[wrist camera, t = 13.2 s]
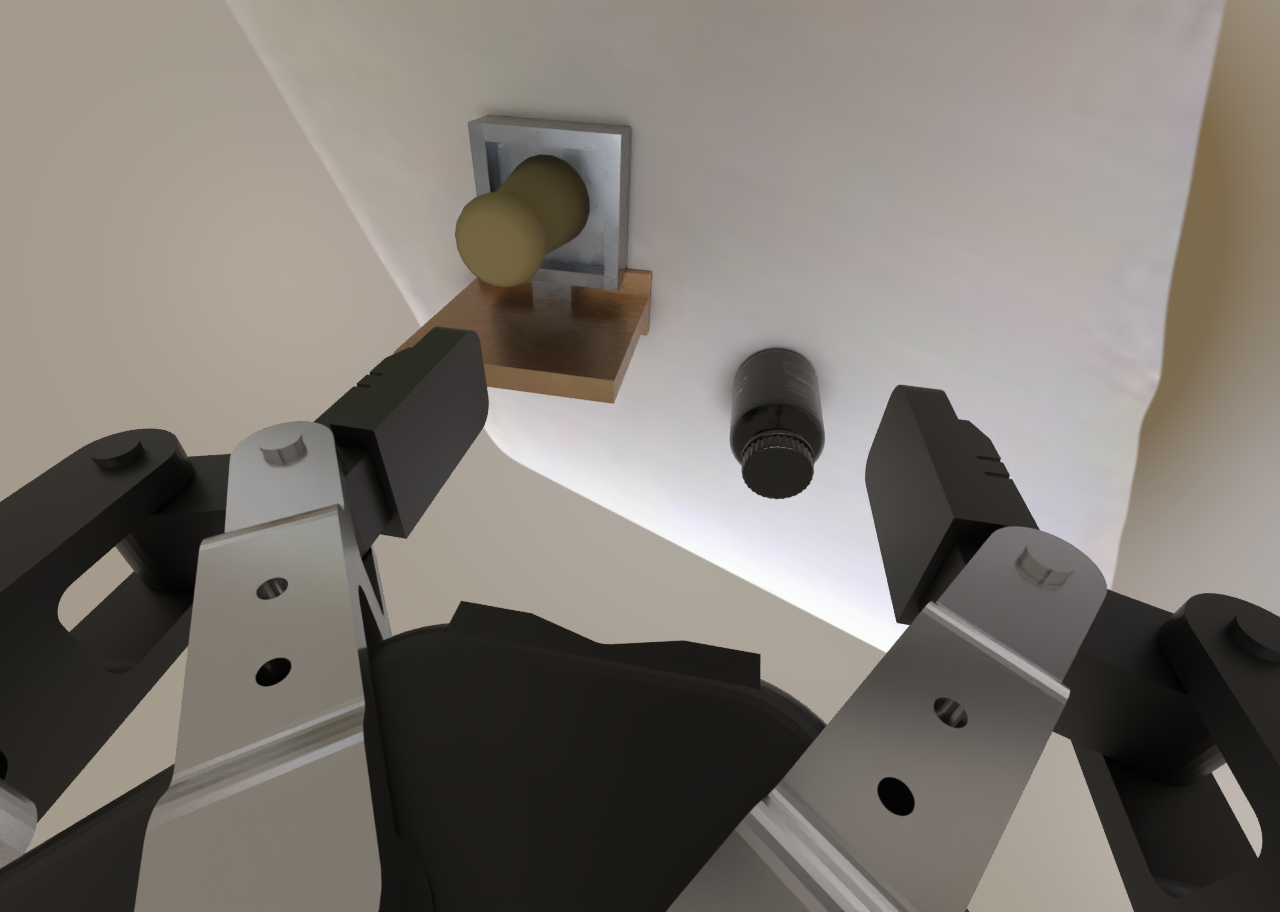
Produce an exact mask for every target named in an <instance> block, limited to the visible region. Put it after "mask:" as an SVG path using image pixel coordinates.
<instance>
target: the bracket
mask: <svg viewBox="0 0 1280 912" xmlns="http://www.w3.org/2000/svg"><path fill="white" fill-rule="evenodd" d="M468 127H469V135H470V143H471V152H472V160H473V168H474V176H475V184H476V192H477V196H479V195H483V194H486V193H490V192H497V191H498V189H499V188H500V187H501V186H502V184H503V183H504V182H505V181H506V179H507V178H508V177H509V176H510V174H511V173H512V172H513V171H514V169H515V168H516V167H517V166H518V165H519V164H520V163H522V162H523V161H524V160H525V159H527V158H529V157H532V156H536V155H539V154H541V155H553V156H555V157H557V158H560V159H562V160H564V161H566V162H567V163H568V164H570V165H571V166H572V167H573V168H574V169H575V170H576V171H577V172H578V173H579V175H580V177H581V178H582V180H583V181H584V183H585V185H586V188H587V192H588V195H589V202H590V213H589V216H588V220H587V223H586V226H585V227H584V229H583V230H582V231H581V233H580V234H579V235H578V236H577V237H576V238H574V239H573V240H571V241H570V242H568V243H566V244H565V245H563V246H561V247H559V248H557V249H555V250H554V251H552V252H550V253H548V254H546V255H545V257H544V261H543V264H542V265H541V267H540V268H539V270H538V271H537V272H536V274H535V275H534V276H533V277H532V278H530V279H529V280H527V281H526V282H524V283H523V284H519V285H515V286H511V287H500V286H494V285H492V284H489V283H487V282H484V281H482V280H481V279H480V278H478V277H477V278H476V279H475V280H474V281H473V282H472V283H471V284H470V285H468V286H467V287H466V288H465V289H464V290H463V291H462V292H461V293H459V294H458V295H457V296H456V297H455V298H454V299H453V300H452V301H450V302H449V303H448V304H447V305H446V306H445V307H444V308H443V309H441V310H440V311H439V312H438V313H437V314H436V315H435V316H434V317H433V318H431V319H430V320H429V321H428V322H427V323H426V324H425V325H424V326H422V327H421V328H420V329H419V330H418V331H417V332H416V333H415V334H414V335H412V336H411V337H410V338H409V339H408V340H407V341H406V342H405V343H403V344H402V345H401V346H400V347H399V348H398V349H397V350H396V351H395V352H394V354H395V353H397V352H400V351H402V350H404V349H406V348H408V347H413V346H414V345H415V344H416V343H417V342H419V341H420V340H421V339H422V338H423V337H424V336H425V335H426V334H427V333H428V332H429V331H430V330H432V329H433V328H434V327H436V326H441V327H449V328H457V329H465V330H473V331H475V332H476V333H477V334H478V336H479V339H480V342H481V349H482V356H483V363H484V370H485V377H486V384H487V387H495V388H502V389H510V390H517V391H524V392H532V393H539V394H547V395H554V396H561V397H569V398H576V399H584V400H591V401H598V402H606V403H613V404H614V401H615V399H616V396H617V394H618V391H619V389H620V386H621V384H622V381H623V378H624V376H625V373H626V371H627V368H628V366H629V363H630V361H631V358H632V356H633V353H634V350H635V348H636V345H637V343H638V340H639V338H640V335H646V336H647V334H648V330H649V314H650V297H651V281H652V272H651V271H642V270H633V269H627V243H628V212H629V182H630V152H631V127H628V126H616V125H604V124H592V123H580V122H567V121H555V120H543V119H531V118H518V117H506V116H494V115H487V116H484V117H481V118H478V119H476V120H473V121H470V122H468Z"/></svg>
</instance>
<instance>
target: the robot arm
mask: <svg viewBox="0 0 1280 912" xmlns="http://www.w3.org/2000/svg"><path fill="white" fill-rule="evenodd" d="M488 407H489V400H488V392H487V384H486V377H485V370H484V363H483V356H482V349H481V342H480V339H479V336H478V334H477V333H476V332H475V331H473V330H465V329H457V328H449V327H441V326H436V327H434V328H433V329H432V330H430V331H429V332H428V333H427V334H426V335H425V336H424V337H423V338H422V339H421V340H420V341H419V342H417V343H416V344H415V345H414V346H413V347H408V348H406V349H404V350H402V351H400V352H397V353H395V354H393V355H391V356H389V357H387V358H385V359H384V360H383V361H382V362H381V363H380V364H378V365H377V366H376V367H375V368H374V369H373V370H372V371H371V372H370V375H366V376H365V377H364V378H363V379H361V380H360V381H359V382H358V383H357V387H352V388H351V389H350V390H349V391H348V392H347V393H346V394H344V395H343V396H342V397H341V398H340V399H339V400H338V401H337V402H335V403H334V404H333V405H332V406H331V407H330V408H329V409H328V410H326V411H325V412H324V413H323V414H322V415H321V416H320V417H319V418H318V419H316V420H315V421H314V422H307V421H296V422H287V423H281V424H277V425H273V426H270V427H267V428H264V429H262V430H259V431H257V432H255V433H253V434H251V435H250V436H248V437H247V438H245V439H244V440H242V441H241V442H240V443H239V444H238V445H237V446H236V447H235V448H234V450H233V451H232V453H231V454H225V455H224V454H223V455H208V456H192V457H187V455H186V453H185V451H184V449H183V448H182V446H181V444H180V442H179V441H178V439H177V437H176V436H175V435H174V434H172V433H171V432H168V431H166V430H161V429H137V430H130V431H125V432H121V433H117V434H113V435H110V436H107V437H104V438H102V439H99V440H96V441H94V442H92V443H90V444H88V445H86V446H84V447H82V448H81V449H79V450H77V451H76V452H74V453H73V454H71V455H70V456H68V457H67V458H65V459H64V460H62V461H61V462H59V463H58V464H56V465H55V466H53V467H52V468H50V469H49V470H47V471H46V472H44V473H43V474H41V475H40V476H38V477H37V478H36V479H34V480H33V481H31V482H29V483H28V484H26V485H25V486H23V487H22V488H20V489H19V490H18V491H16V492H14V493H13V494H12V495H10V496H9V497H7V498H6V499H4V500H3V501H1V502H0V912H969V911H968V909H967V906H968V904H969V902H970V900H971V898H972V896H973V894H974V892H975V890H976V888H977V886H978V883H979V882H980V880H981V878H982V876H983V873H984V871H985V869H986V867H987V865H988V863H989V861H990V859H991V857H992V855H993V853H994V851H995V849H996V847H997V845H998V842H999V840H1000V838H1001V836H1002V834H1003V832H1004V830H1005V828H1006V826H1007V824H1008V822H1009V820H1010V817H1011V816H1012V814H1013V812H1014V809H1015V807H1016V805H1017V803H1018V801H1019V799H1020V797H1021V795H1022V793H1023V791H1024V789H1025V787H1026V785H1027V783H1028V781H1029V779H1030V776H1031V774H1032V772H1033V770H1034V768H1035V766H1036V764H1037V762H1038V760H1039V758H1040V756H1041V754H1042V752H1043V750H1044V748H1045V745H1046V743H1047V741H1048V739H1049V737H1050V735H1051V733H1052V731H1053V732H1055V733H1057V734H1060V735H1062V736H1064V737H1066V738H1068V739H1071V742H1072V744H1073V747H1074V750H1075V753H1076V755H1077V758H1078V761H1079V763H1080V766H1081V769H1082V772H1083V775H1084V777H1085V780H1086V783H1087V785H1088V788H1089V791H1090V793H1091V796H1092V799H1093V802H1094V804H1095V807H1096V810H1097V812H1098V815H1099V818H1100V821H1101V823H1102V826H1103V829H1104V832H1105V834H1106V837H1107V840H1108V842H1109V845H1110V848H1111V851H1112V853H1113V856H1114V859H1115V861H1116V864H1117V867H1118V869H1119V872H1120V875H1121V878H1122V880H1123V883H1124V886H1125V889H1126V891H1127V894H1128V897H1129V899H1130V902H1131V905H1132V908H1133V910H1134V912H1280V617H1278V616H1277V615H1275V614H1273V613H1271V612H1269V611H1267V610H1265V609H1263V608H1261V607H1259V606H1256V605H1254V604H1252V603H1249V602H1247V601H1244V600H1241V599H1238V598H1235V597H1230V596H1227V595H1221V594H1214V593H1204V594H1198V595H1195V596H1193V597H1191V598H1190V599H1189V600H1188V601H1187V602H1186V603H1185V604H1183V605H1182V607H1180V608H1179V609H1178V610H1177V611H1176V612H1175V613H1174V614H1173V613H1171V612H1168V611H1165V610H1163V609H1160V608H1157V607H1154V606H1151V605H1149V604H1146V603H1143V602H1140V601H1138V600H1134V599H1132V598H1130V597H1127V596H1124V595H1121V594H1118V593H1116V592H1113V591H1111V590H1109V589H1107V584H1106V581H1105V578H1104V576H1103V574H1102V573H1101V571H1100V570H1099V568H1098V567H1097V566H1096V565H1095V563H1094V562H1093V561H1092V560H1091V559H1090V558H1089V557H1088V556H1086V555H1085V554H1084V553H1083V552H1081V551H1080V550H1079V549H1077V548H1076V547H1074V546H1073V545H1071V544H1070V543H1068V542H1066V541H1064V540H1063V539H1061V538H1058V537H1056V536H1054V535H1052V534H1049V533H1046V532H1044V531H1040V530H1039V528H1038V526H1037V524H1036V522H1035V520H1034V519H1033V517H1032V515H1031V513H1030V511H1029V509H1028V508H1027V506H1026V504H1025V502H1024V500H1023V498H1022V497H1021V495H1020V493H1019V491H1018V489H1017V487H1016V486H1015V484H1014V482H1013V480H1012V479H1009V476H1010V475H1009V473H1008V471H1007V469H1006V467H1005V465H1004V464H1003V463H1001V462H1000V460H1001V458H1000V456H999V454H998V453H997V451H996V449H995V447H994V445H993V443H992V442H991V440H990V439H989V438H988V437H987V436H986V435H985V434H984V433H982V432H981V431H980V430H979V429H978V428H977V427H975V426H974V425H973V424H972V423H971V422H970V421H967V420H960V419H958V418H957V416H956V414H955V412H954V410H953V408H952V406H951V404H950V402H949V399H948V397H947V395H946V394H945V392H944V391H943V390H938V389H930V388H922V387H914V386H906V385H898V386H897V387H896V388H895V389H894V390H893V392H892V394H891V396H890V399H889V401H888V404H887V407H886V409H885V412H884V415H883V417H882V420H881V422H880V425H879V428H878V430H877V433H876V436H875V438H874V441H873V444H872V446H871V449H870V452H869V455H868V459H867V464H866V471H865V482H866V488H867V492H868V497H869V501H870V506H871V510H872V515H873V519H874V524H875V528H876V533H877V537H878V542H879V546H880V550H881V555H882V559H883V564H884V568H885V573H886V577H887V582H888V586H889V591H890V595H891V600H892V604H893V609H894V613H895V618H896V622H897V623H900V624H906V625H910V626H909V627H908V628H907V629H906V630H905V632H904V633H903V634H902V635H901V636H900V638H899V639H898V640H897V641H896V643H895V644H894V645H893V646H892V647H891V649H890V650H889V651H888V652H887V653H886V655H885V656H884V657H883V658H882V659H881V661H880V662H879V663H878V664H877V666H876V667H875V668H874V669H873V670H872V672H871V673H870V674H869V675H868V676H867V678H866V679H865V680H864V681H863V682H862V684H861V685H860V686H859V687H858V689H857V690H856V691H855V692H854V693H853V695H852V696H851V697H850V698H849V699H848V701H847V702H846V703H845V704H844V705H843V707H842V708H841V709H840V710H839V711H838V713H837V714H836V715H835V716H834V718H833V719H832V720H831V721H830V722H829V724H828V725H826V723H824V721H823V720H821V719H820V718H819V717H818V716H817V715H816V714H815V713H814V712H812V711H811V710H810V709H809V708H808V707H807V706H805V705H804V704H802V703H801V702H800V701H798V700H797V699H796V698H794V697H793V696H791V695H790V694H788V693H786V692H785V691H783V690H781V689H779V688H778V687H776V686H774V685H772V684H770V683H768V682H766V681H764V680H761V679H760V654H756V653H750V652H745V651H739V650H734V649H728V648H722V647H716V646H711V645H706V644H700V643H695V642H689V641H666V642H646V643H627V644H601V643H597V642H594V641H592V640H590V639H588V638H585V637H583V636H581V635H579V634H576V633H574V632H572V631H570V630H567V629H565V628H563V627H561V626H559V625H556V624H554V623H552V622H550V621H547V620H545V619H543V618H541V617H538V616H536V615H534V614H532V613H526V612H520V611H514V610H509V609H503V608H498V607H493V606H487V605H481V604H476V603H470V602H464V601H461V603H460V604H459V606H458V608H457V610H456V612H455V614H454V616H453V618H452V620H451V622H450V623H448V624H438V625H432V626H426V627H422V628H418V629H414V630H410V631H406V632H404V633H401V634H398V635H395V636H392V632H391V628H390V623H389V618H388V613H387V608H386V604H385V598H384V593H383V588H382V583H381V579H380V573H379V569H378V563H377V558H376V555H375V552H374V549H373V546H372V544H373V543H374V541H375V540H376V539H377V537H378V536H379V535H380V534H382V535H388V536H394V537H400V538H406V539H407V537H408V536H409V534H410V533H411V531H412V530H413V529H414V527H415V526H416V524H417V523H418V521H419V520H420V518H421V517H422V515H423V514H424V512H425V511H426V510H427V508H428V507H429V505H430V504H431V503H432V501H433V500H434V498H435V496H436V495H437V494H438V492H439V491H440V489H441V488H442V487H443V485H444V484H445V482H446V481H447V479H448V478H449V476H450V475H451V473H452V472H453V471H454V469H455V468H456V466H457V465H458V463H459V462H460V461H461V459H462V457H463V456H464V455H465V453H466V452H467V450H468V449H469V448H470V446H471V444H472V443H473V442H474V440H475V439H476V437H477V436H478V434H479V433H480V431H481V430H482V429H483V427H484V425H485V422H486V419H487V415H488ZM114 546H115V547H116V548H117V549H118V550H119V552H120V553H121V555H122V556H123V557H124V558H125V560H126V561H127V562H128V563H129V565H130V566H131V568H132V569H133V570H134V572H133V573H132V574H131V575H130V576H129V577H128V578H126V580H124V581H123V582H122V583H121V584H120V585H119V586H118V587H117V588H116V589H115V590H114V591H113V592H112V593H110V595H108V596H107V597H106V598H105V599H104V600H103V601H102V602H101V603H100V604H99V605H98V606H97V607H96V608H95V609H94V610H92V611H91V612H90V613H89V614H88V615H87V616H86V617H85V618H84V619H83V620H82V621H81V622H80V623H79V624H78V625H77V626H76V627H74V628H73V629H72V630H71V631H70V632H68V631H67V630H66V629H65V628H64V627H63V625H62V624H61V623H60V621H59V619H58V614H57V612H58V604H59V601H60V599H61V597H62V595H63V593H64V592H65V591H66V589H67V588H68V587H69V586H70V585H71V584H72V583H73V582H74V581H75V580H77V579H78V578H79V577H80V576H81V575H82V574H83V573H85V572H86V571H87V570H88V569H89V568H90V567H91V566H93V565H94V564H95V563H96V562H97V561H98V560H99V559H101V558H102V557H103V556H104V555H105V554H106V553H108V552H109V551H110V550H111V549H112V548H113V547H114ZM187 646H188V654H187V662H186V671H185V679H184V688H183V697H182V706H181V714H180V723H179V732H178V742H177V749H176V758H175V764H173V765H171V766H170V767H168V768H167V769H165V770H163V771H162V772H160V773H159V774H157V775H155V776H153V777H152V778H150V779H148V780H147V781H145V782H143V783H142V784H140V785H138V786H137V787H135V788H133V789H132V790H130V791H128V792H127V793H125V794H123V795H122V796H120V797H119V798H117V799H115V800H113V801H112V802H110V803H108V804H107V805H105V806H103V807H102V808H100V809H98V810H97V811H95V812H93V813H92V814H90V815H88V816H87V817H85V818H84V819H82V820H80V821H78V822H77V823H75V824H73V825H72V826H70V827H68V828H67V829H65V830H64V831H62V832H60V833H59V834H57V835H55V836H53V837H52V838H50V839H49V840H47V841H45V842H44V843H42V844H40V845H39V846H37V847H35V848H34V849H32V850H30V851H29V852H27V853H25V851H26V849H27V848H28V846H29V844H30V842H31V840H32V837H33V835H34V832H35V829H36V824H37V823H38V822H39V820H40V819H41V818H42V817H43V816H44V815H45V813H46V812H47V811H48V810H49V809H50V807H51V806H52V805H53V804H54V803H55V802H56V800H57V799H58V798H59V797H60V796H61V794H62V793H63V792H64V791H65V790H66V789H67V787H68V786H69V785H70V784H71V783H72V782H73V780H74V779H75V778H76V777H77V776H78V775H79V773H80V772H81V771H82V770H83V769H84V767H85V766H86V765H87V764H88V763H89V762H90V760H91V759H92V758H93V757H94V756H95V754H96V753H97V752H98V751H99V750H100V749H101V747H102V746H103V745H104V744H105V743H106V741H107V740H108V739H109V738H110V737H111V736H112V734H113V733H114V732H115V731H116V730H117V729H118V727H119V726H120V725H121V724H122V723H123V722H124V720H125V719H126V718H127V717H128V715H129V714H130V713H131V712H132V711H133V710H134V709H135V707H136V706H137V705H138V704H139V703H140V701H141V700H142V699H143V698H144V697H145V696H146V694H147V693H148V692H149V691H150V690H151V689H152V687H153V686H154V685H155V684H156V683H157V681H158V680H159V679H160V678H161V677H162V676H163V674H164V673H165V672H166V671H167V670H168V669H169V667H170V666H171V665H172V664H173V663H174V661H175V660H176V659H177V658H178V657H179V656H180V654H181V653H182V652H183V651H184V650H185V648H186V647H187ZM1225 763H1227V764H1228V766H1229V768H1230V769H1231V771H1232V773H1233V775H1234V776H1235V778H1236V780H1237V782H1238V784H1239V785H1240V787H1241V789H1242V791H1243V792H1244V794H1245V796H1246V797H1247V799H1248V801H1249V803H1250V805H1251V807H1252V808H1253V810H1254V812H1255V814H1256V816H1257V818H1258V821H1259V824H1260V827H1261V831H1262V840H1263V841H1262V849H1261V854H1260V856H1259V858H1258V857H1257V856H1256V854H1255V852H1254V850H1253V848H1252V846H1251V845H1250V843H1249V841H1248V839H1247V837H1246V835H1245V833H1244V831H1243V830H1242V828H1241V826H1240V824H1239V822H1238V820H1237V819H1236V817H1235V815H1234V813H1233V811H1232V809H1231V808H1230V806H1229V804H1228V802H1227V800H1226V798H1225V797H1224V795H1223V793H1222V791H1221V789H1220V787H1219V785H1218V784H1217V782H1216V780H1215V778H1214V776H1213V774H1212V772H1213V771H1214V770H1216V769H1217V768H1219V767H1220V766H1222V765H1223V764H1225ZM24 853H25V854H24Z"/></svg>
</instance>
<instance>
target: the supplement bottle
mask: <svg viewBox="0 0 1280 912" xmlns="http://www.w3.org/2000/svg"><path fill="white" fill-rule="evenodd" d="M824 443H825V432H824V424H823V417H822V410H821V402H820V395H819V388H818V382H817V377H816V374H815V372H814V370H813V368H812V366H811V365H810V364H809V363H808V362H807V361H806V360H805V359H804V358H803V357H801V356H800V355H798V354H796V353H793V352H790V351H785V350H769V351H765V352H761V353H759V354H757V355H755V356H753V357H751V358H750V359H749V360H747V361H746V362H745V363H744V364H743V365H742V367H741V368H740V369H739V371H738V373H737V375H736V378H735V382H734V390H733V402H732V414H731V426H730V447H731V450H732V453H733V455H734V457H735V458H736V460H737V461H738V463H739V464H740V465H741V466H742V477H743V479H744V481H745V483H746V484H747V485H748V488H750V489H751V490H752V491H753V492H756V494H758V495H761V496H763V497H767V498H770V499H771V498H774V499H784V498H790V497H792V496H796V495H797V494H798V493H801V492H802V491H803V490H804V489H806V488H807V486H808V485H809V484H810V481H811V480H812V478H813V474H814V463H815V462H816V461H817V460H818V458H819V457H820V455H821V453H822V451H823V448H824Z"/></svg>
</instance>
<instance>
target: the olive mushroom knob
mask: <svg viewBox="0 0 1280 912" xmlns="http://www.w3.org/2000/svg"><path fill="white" fill-rule="evenodd" d="M589 213H590V202H589V195H588V192H587V188H586V185H585V183H584V181H583V180H582V178H581V177H580V175H579V173H578V172H577V171H576V170H575V169H574V168H573V167H572V166H571V165H570V164H568V163H567V162H566V161H564V160H562V159H560V158H557V157H555V156H553V155H541V154H539V155H536V156H532V157H529V158H527V159H525V160H524V161H523V162H522V163H520V164H519V165H518V166H517V167H516V168H515V169H514V171H513V172H512V173H511V174H510V176H509V177H508V178H507V179H506V181H505V182H504V183H503V184H502V186H501V187H500V188H499V189H498V191H497V192H490V193H486V194H483V195H479V196H477V197H476V198H474V199H473V200H472V201H471V202H469V203H468V204H467V205H466V206H465V207H464V209H463V211H462V213H461V215H460V216H459V218H458V220H457V224H456V231H455V237H456V243H457V249H458V251H459V253H460V255H461V258H462V260H463V262H464V263H465V265H466V266H467V267H468V268H469V270H470V271H471V272H472V273H473V274H474V275H476V276H477V277H478V278H480V279H481V280H482V281H484V282H487V283H489V284H492V285H494V286H500V287H511V286H515V285H519V284H523V283H524V282H526V281H527V280H529V279H530V278H532V277H533V276H534V275H535V274H536V272H537V271H538V270H539V268H540V267H541V265H542V264H543V261H544V257H545V255H546V254H548V253H550V252H552V251H554V250H555V249H557V248H559V247H561V246H563V245H565V244H566V243H568V242H570V241H571V240H573V239H574V238H576V237H577V236H578V235H579V234H580V233H581V231H582V230H583V229H584V227H585V226H586V223H587V220H588V216H589Z"/></svg>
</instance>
